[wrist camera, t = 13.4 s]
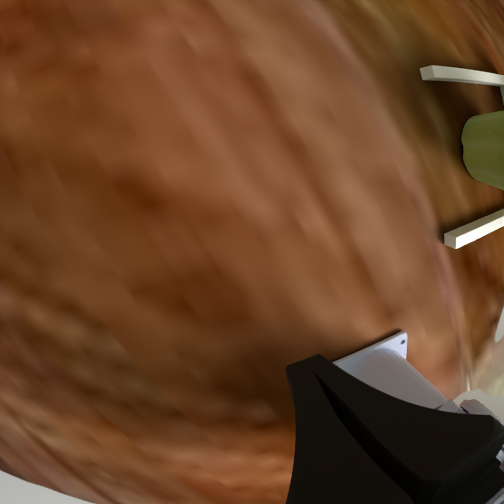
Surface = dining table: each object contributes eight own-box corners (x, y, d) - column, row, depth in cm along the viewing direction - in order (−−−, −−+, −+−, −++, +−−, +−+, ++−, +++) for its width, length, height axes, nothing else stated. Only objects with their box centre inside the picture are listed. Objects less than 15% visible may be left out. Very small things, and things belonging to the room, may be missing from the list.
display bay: (517, 211, 25) (550, 220, 20) (444, 244, 23) (485, 261, 19) (501, 78, 20) (536, 75, 16) (419, 68, 19) (463, 57, 14)
